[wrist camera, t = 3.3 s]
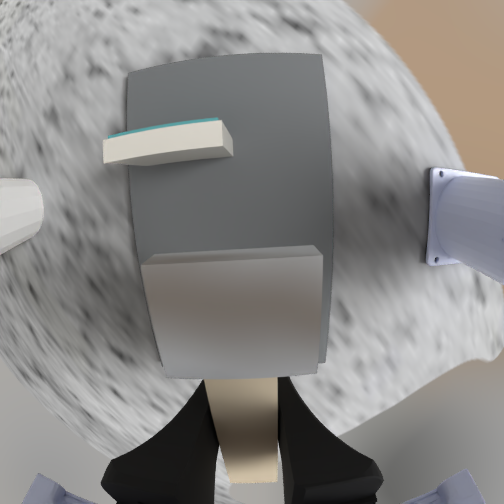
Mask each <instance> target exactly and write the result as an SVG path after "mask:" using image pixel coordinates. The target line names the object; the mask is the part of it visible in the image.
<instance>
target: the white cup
mask: <svg viewBox="0 0 504 504" xmlns="http://www.w3.org/2000/svg"><path fill="white" fill-rule="evenodd" d="M43 213H44V205H43V199H42V195H41V192H40V190H39V188H38V186H37V185H36V184H35V183H34V182H33V181H32V180H29V179H15V178H0V255H1V254H3V253H4V252H6V251H8V250H10V249H11V248H13V247H15V246H17V245H19V244H20V243H22V242H24V241H26V240H28V239H30V238H32V237H33V236H35V235H36V234H37V232H38V231H39V230H40V227H41V224H42V221H43Z"/></svg>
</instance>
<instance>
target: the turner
mask: <svg viewBox="0 0 504 504" xmlns="http://www.w3.org/2000/svg"><path fill="white" fill-rule="evenodd" d="M141 271H142V276H143V282H144V287H145V292H146V297H147V302H148V307H149V311H150V316H151V320H152V325H153V329H154V333H155V337H156V341H157V345H158V349H159V352H160V356H161V360H162V363H163V367H164V370H165V374H166V377H167V378H180V379H204V382H205V387H206V391H207V396H208V400H209V405H210V409H211V413H212V417H213V421H214V425H215V429H216V433H217V437H218V441H219V445H220V448H221V452H222V456H223V459H224V463H225V466H226V469H227V473H228V476H229V479H230V483H264V482H277V463H278V379H277V377H286V376H297V375H307V374H316V373H317V368H318V356H319V343H320V327H321V308H322V280H323V255H322V254H321V253H320V252H319V250H318V249H317V248H316V247H315V246H314V245H305V246H287V247H269V248H252V249H234V250H217V251H200V252H183V253H166V254H154V255H153V256H152V257H150V258H149V259H148V260H147V261H145V262H144V263H143V264H142V265H141Z"/></svg>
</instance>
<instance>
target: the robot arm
mask: <svg viewBox="0 0 504 504" xmlns="http://www.w3.org/2000/svg"><path fill="white" fill-rule="evenodd" d="M439 172H441V176H439ZM435 258H436V261H434V260H435ZM426 263H427V264H428V265H429V266H436V265H446V264H455V263H464V264H466V265H468V266H469V267H471V268H473V269H475V270H477V271H479V272H481V273H483V274H484V275H486V276H488V277H490V278H492V279H494V280H495V281H497V282H499V283H501V284H502V285H504V180H502V179H498V177H494V176H489V175H484V174H478V173H472V172H466V171H460V170H453V169H446V168H438V167H433V168H431V170H430V213H429V230H428V243H427V253H426ZM277 379H278V443H279V448H280V454H281V460H282V469H283V483H284V501H285V504H375V503H376V502H377V498H376V495H375V493H376V492H377V490H378V489H379V488H380V486H381V485H382V483H383V481H384V480H383V476H382V474H381V471H380V470H379V468H378V466H377V464H376V463H375V462H374V460H373V459H370V458H368V457H367V456H365V455H363V454H361V453H359V452H358V451H356V450H354V449H353V448H351V447H350V446H348V445H347V444H345V443H344V442H343V441H342V440H340V439H339V438H338V437H336V436H335V435H334V434H333V433H332V432H330V431H329V430H328V429H327V428H326V427H325V426H324V425H323V424H322V423H321V422H320V421H319V420H318V419H317V418H316V417H315V415H314V414H313V413H312V412H311V411H310V409H309V408H308V407H307V405H306V404H305V403H304V401H303V400H302V398H301V397H300V395H299V394H298V392H297V391H296V389H295V387H294V386H293V384H292V382H291V380H290V377H289V376H286V377H277ZM218 449H219V441H218V437H217V433H216V429H215V425H214V421H213V417H212V413H211V409H210V405H209V400H208V396H207V391H206V387H205V382H204V379H203V380H202V382H201V383H200V385H199V386H198V388H197V389H196V391H195V392H194V394H193V395H192V396H191V398H190V399H189V400H188V402H187V403H186V404H185V406H184V407H183V408H182V409H181V410H180V411H179V413H178V414H177V415H176V416H175V417H174V418H173V419H172V420H171V421H170V422H169V423H168V424H167V425H166V426H165V427H164V428H163V429H162V430H160V431H159V432H158V433H157V434H156V435H154V436H153V437H152V438H150V439H149V440H148V441H146V442H145V443H143V444H141V445H140V446H138V447H137V448H135V449H133V450H132V451H130V452H128V453H126V454H124V455H121V456H119V457H117V458H115V459H112V460H111V462H110V464H109V465H108V467H107V469H106V471H105V473H104V476H103V478H102V481H101V486H102V487H103V489H104V490H105V491H106V492H107V493H108V494H109V495H110V496H111V497H112V498H113V499H115V500H116V501H117V503H116V504H214V490H215V471H216V460H217V454H218ZM22 504H96V503H93V502H91V501H88V500H85V499H83V498H81V497H78V496H76V495H74V494H71V493H69V492H67V491H65V489H64V488H63V487H62V486H61V485H59V484H58V483H56V482H55V481H53V480H51V479H49V478H47V477H45V476H43V475H41V474H39V473H38V474H37V476H36V478H35V479H34V481H33V483H32V485H31V487H30V489H29V491H28V492H27V494H26V496H25V498H24V500H23V502H22ZM401 504H485V501H484V499H483V497H482V495H481V493H480V491H479V489H478V487H477V485H476V484H475V482H474V480H473V478H472V476H471V475H470V473H469V471H468V469H464V470H462V471H460V472H458V473H457V474H455V475H453V476H451V477H449V478H447V479H446V480H444V481H443V482H442V483H440V485H439V486H438V487H437V488H436V489H434V490H432V491H430V492H428V493H426V494H423V495H421V496H418V497H416V498H414V499H411V500H409V501H406V502H403V503H401Z"/></svg>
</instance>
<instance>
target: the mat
mask: <svg viewBox="0 0 504 504" xmlns="http://www.w3.org/2000/svg"><path fill="white" fill-rule="evenodd" d="M216 117H218V119H219V120H222V122H223V123H224V125H225V127H226V128H227V130H228V132H229V134H230V135H231V137H232V139H233V157H221V158H209V159H199V160H190V161H181V162H173V163H165V164H158V165H151V166H140V165H128V171H129V185H130V197H131V207H132V216H133V225H134V233H135V240H136V247H137V254H138V260H139V266H140V272H141V278H142V283H143V288H144V293H145V298H146V303H147V308H148V312H149V317H150V321H151V325H152V320H151V316H150V311H149V307H148V302H147V297H146V292H145V287H144V282H143V276H142V271H141V265H142V264H143V263H144V262H145V261H147V260H148V259H149V258H150V257H152V256H153V255H154V254H166V253H183V252H200V251H217V250H234V249H252V248H269V247H287V246H305V245H314V246H315V247H316V248H317V249H318V250H319V252H320V253H321V254H322V255H323V280H322V308H321V327H320V343H319V356H318V363H325V361H326V351H327V341H328V331H329V318H330V304H331V287H332V264H333V177H332V154H331V138H330V124H329V112H328V102H327V92H326V83H325V75H324V67H323V60H322V55H320V54H304V53H251V54H235V55H223V56H214V57H205V58H198V59H191V60H185V61H179V62H174V63H169V64H164V65H159V66H154V67H150V68H146V69H142V70H138V71H134V72H130V73H128V89H127V131H132V130H137V129H142V128H147V127H152V126H158V125H163V124H169V123H176V122H183V121H190V120H198V119H207V118H216ZM152 330H153V334H154V338H155V342H156V346H157V349H158V345H157V341H156V337H155V333H154V329H153V325H152ZM158 353H159V357H160V360H161V356H160V352H159V349H158ZM161 364H162V367H163V363H162V360H161Z"/></svg>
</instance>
